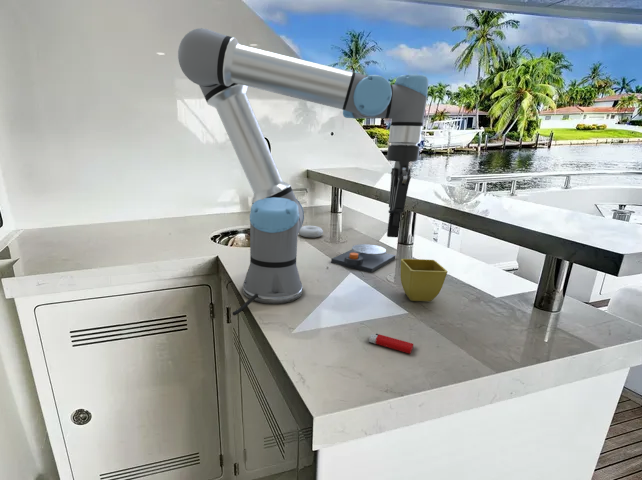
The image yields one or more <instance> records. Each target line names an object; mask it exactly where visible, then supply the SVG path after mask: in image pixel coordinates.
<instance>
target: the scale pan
mask: <svg viewBox="0 0 642 480" xmlns="http://www.w3.org/2000/svg"><path fill="white" fill-rule="evenodd" d="M351 250H353V251H354V252H357V253H360V254H365V255H382V254H385V253H387V249H386V248H385V247H382V246H380V245H377V244H369V243H360V244H359V243H358V244H355V245H352V246H351Z"/></svg>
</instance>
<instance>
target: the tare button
mask: <svg viewBox="0 0 642 480" xmlns="http://www.w3.org/2000/svg"><path fill="white" fill-rule="evenodd" d="M349 258H351V259H358V253H350V257H349Z"/></svg>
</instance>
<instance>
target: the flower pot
mask: <svg viewBox="0 0 642 480" xmlns="http://www.w3.org/2000/svg"><path fill="white" fill-rule="evenodd" d="M447 274H448V271H447V269H446V268H444V266H442V265H441V264H440V263H439V262H437V260H435V259H423V258H422V259H421V258H420V259H419V258H400V282H401V283H400V284H401V287H402V289H403V292H404V294H405V295H406V296H407V298H408V299H409V301H411V302H433V300H434V299H435V298H437V296H438V295H439V294H440V292H441V291H442V289H443V285H444V283H445V280H446V277H447Z"/></svg>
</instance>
